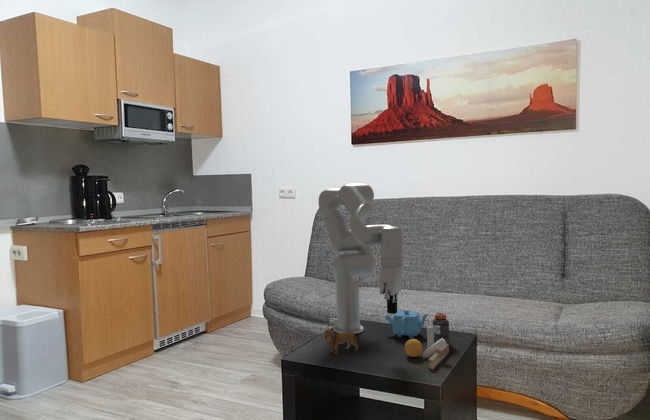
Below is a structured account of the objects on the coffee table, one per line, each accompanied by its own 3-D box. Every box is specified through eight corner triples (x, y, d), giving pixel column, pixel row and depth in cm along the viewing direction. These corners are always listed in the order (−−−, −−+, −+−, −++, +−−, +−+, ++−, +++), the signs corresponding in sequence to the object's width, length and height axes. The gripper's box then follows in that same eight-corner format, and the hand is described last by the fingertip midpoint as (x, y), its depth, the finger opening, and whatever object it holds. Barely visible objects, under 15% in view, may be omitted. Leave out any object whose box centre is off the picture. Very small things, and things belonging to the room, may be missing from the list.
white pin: (421, 352, 162) (440, 338, 159) (424, 351, 164) (442, 337, 161) (426, 358, 161) (445, 344, 158) (428, 357, 163) (447, 343, 160)
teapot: (380, 337, 186) (380, 312, 185) (390, 328, 199) (389, 304, 198) (427, 342, 179) (426, 316, 178) (433, 332, 192) (433, 307, 191)
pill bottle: (448, 341, 179) (447, 311, 179) (450, 346, 173) (450, 315, 173) (431, 341, 180) (431, 311, 180) (433, 346, 174) (433, 315, 174)
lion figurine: (327, 357, 165) (326, 331, 165) (320, 353, 170) (319, 328, 170) (362, 349, 172) (362, 325, 172) (355, 345, 177) (354, 321, 177)
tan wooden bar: (428, 368, 152) (428, 359, 152) (444, 351, 168) (444, 343, 168) (433, 369, 152) (432, 360, 152) (449, 352, 167) (448, 344, 167)
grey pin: (426, 351, 169) (426, 327, 169) (428, 349, 171) (428, 325, 171) (433, 352, 168) (432, 328, 168) (435, 350, 170) (434, 326, 170)
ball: (418, 344, 159) (418, 361, 160) (425, 338, 164) (424, 355, 165) (402, 340, 163) (401, 357, 163) (409, 335, 168) (408, 351, 168)
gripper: (390, 257, 175) (390, 306, 176) (373, 264, 162) (373, 316, 163) (409, 259, 171) (409, 309, 173) (393, 265, 159) (393, 319, 160)
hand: (392, 312), depth 168 cm, fingers closed
